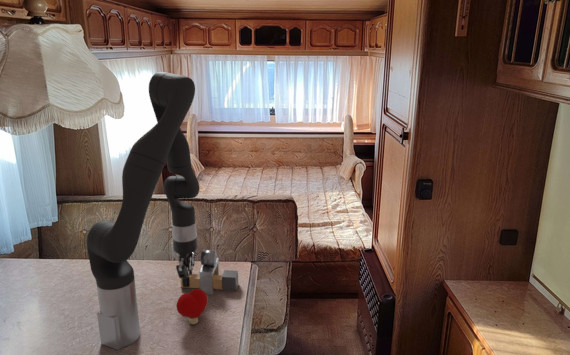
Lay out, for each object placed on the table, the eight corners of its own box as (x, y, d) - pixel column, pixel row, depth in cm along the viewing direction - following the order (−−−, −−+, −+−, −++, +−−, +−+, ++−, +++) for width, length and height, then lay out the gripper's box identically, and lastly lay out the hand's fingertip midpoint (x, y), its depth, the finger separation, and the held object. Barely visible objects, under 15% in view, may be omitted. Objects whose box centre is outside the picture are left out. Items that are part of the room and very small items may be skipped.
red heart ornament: (200, 312, 127) (198, 282, 124) (214, 322, 122) (212, 291, 120) (172, 325, 121) (170, 294, 118) (186, 336, 116) (183, 304, 113)
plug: (180, 288, 139) (179, 275, 138) (184, 281, 144) (183, 268, 142) (235, 291, 138) (235, 277, 137) (238, 284, 142) (237, 270, 141)
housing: (200, 294, 136) (198, 257, 133) (208, 278, 146) (206, 243, 142) (212, 294, 136) (211, 258, 132) (219, 278, 146) (218, 244, 142)
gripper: (190, 246, 129) (193, 296, 134) (201, 227, 143) (204, 273, 148) (165, 245, 130) (169, 294, 135) (180, 227, 143) (182, 272, 148)
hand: (187, 283), depth 141 cm, fingers closed on plug, 2 cm apart
